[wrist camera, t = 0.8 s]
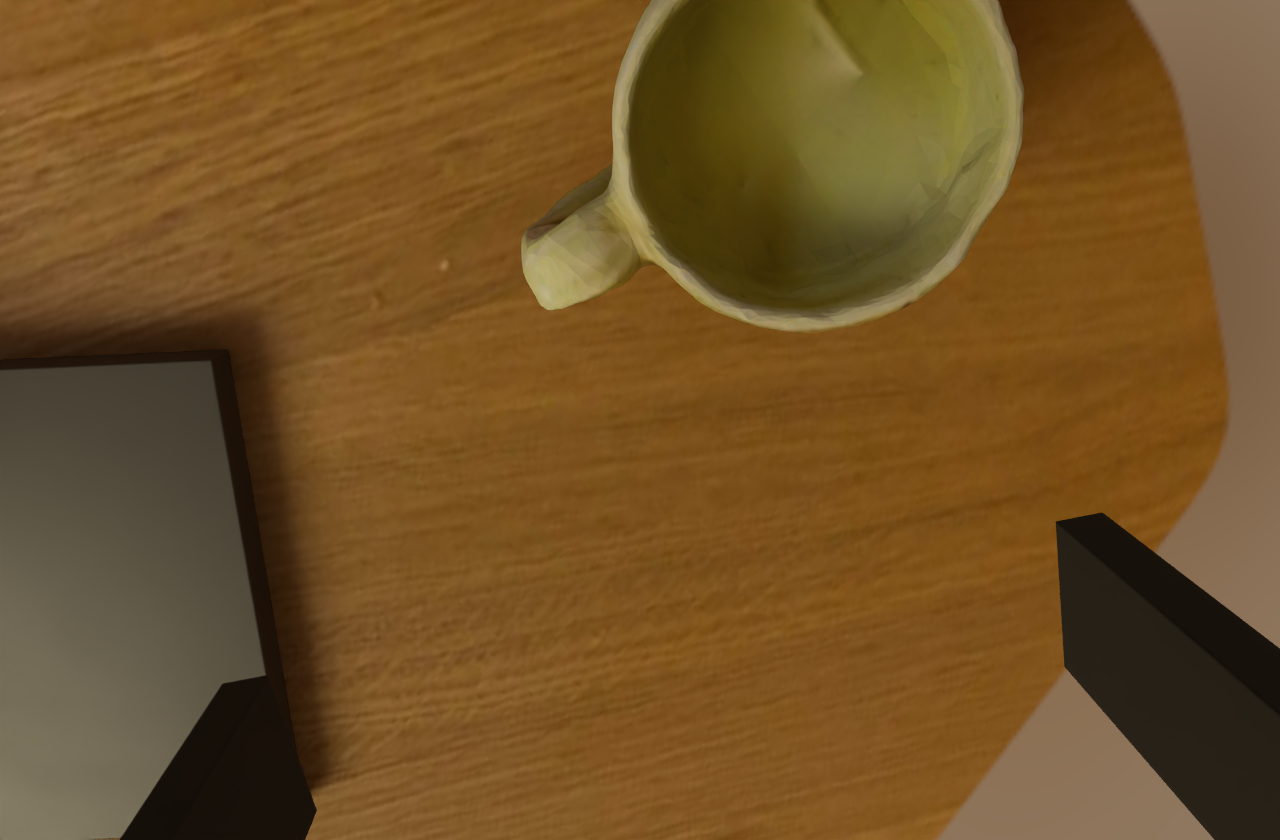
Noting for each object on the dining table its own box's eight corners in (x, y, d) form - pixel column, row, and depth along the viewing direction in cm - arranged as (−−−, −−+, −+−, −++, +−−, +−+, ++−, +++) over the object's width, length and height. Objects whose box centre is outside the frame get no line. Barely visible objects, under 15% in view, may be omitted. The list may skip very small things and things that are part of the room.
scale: (-264, 371, 29) (-358, 397, 26) (228, 349, 30) (189, 373, 27) (-114, 826, 34) (-178, 890, 31) (305, 801, 35) (279, 861, 32)
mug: (930, -194, 24) (1037, -134, 17) (966, 170, 30) (1058, 341, 22) (492, -49, 27) (405, 62, 19) (603, 259, 33) (572, 441, 25)
